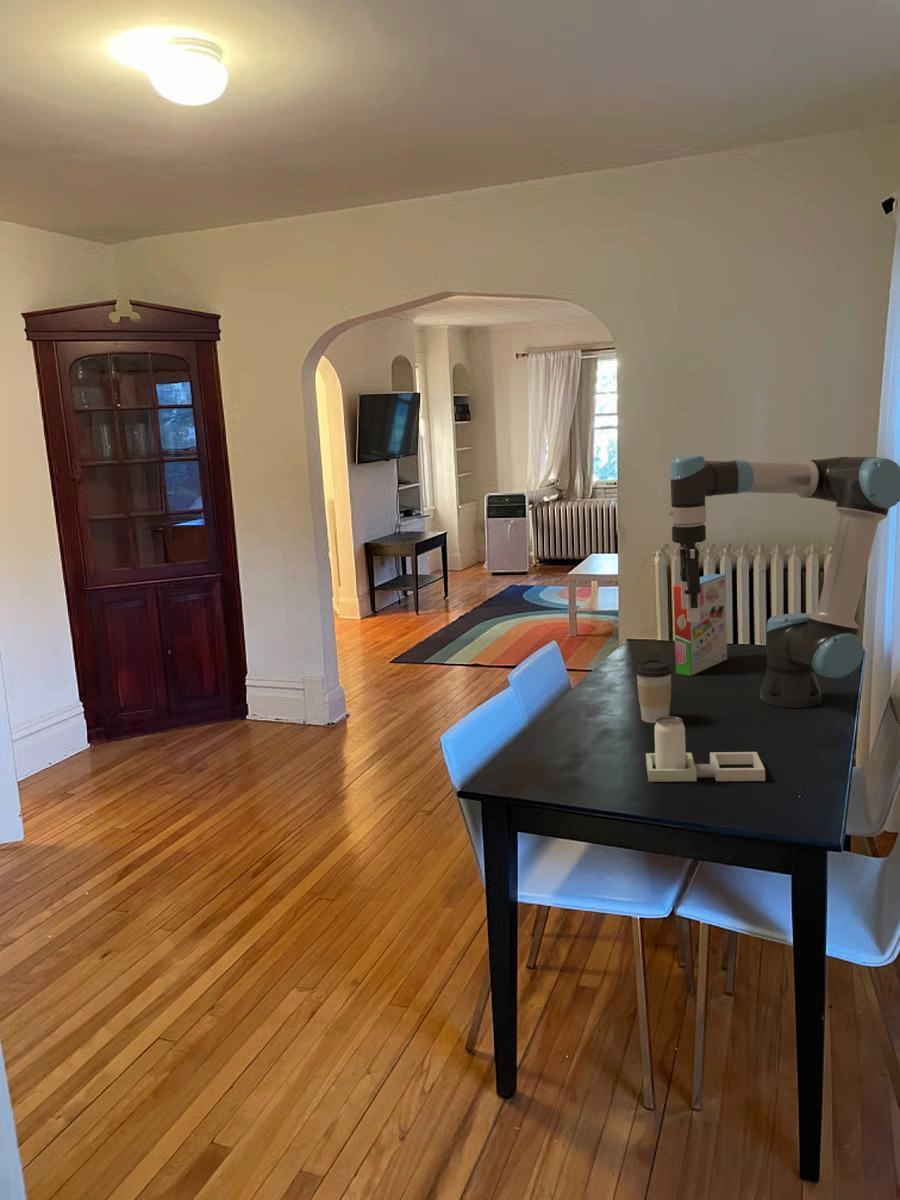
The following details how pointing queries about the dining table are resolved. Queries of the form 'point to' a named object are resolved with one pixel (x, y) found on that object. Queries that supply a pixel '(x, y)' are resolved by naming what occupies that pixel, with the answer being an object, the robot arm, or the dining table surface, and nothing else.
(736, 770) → the socket panel
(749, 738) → the dining table surface
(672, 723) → the can
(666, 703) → the coffee cup
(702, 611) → the game box
